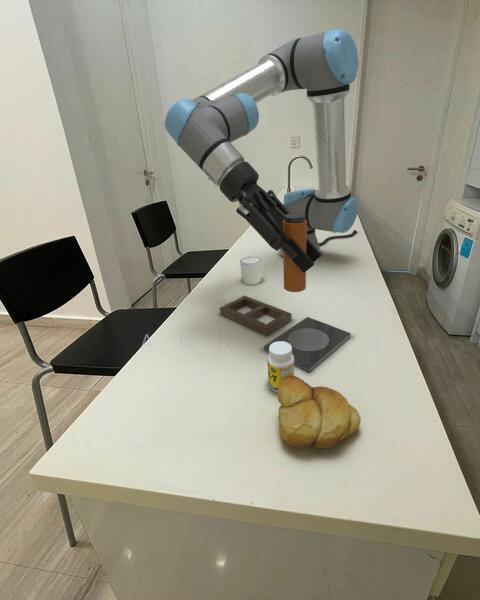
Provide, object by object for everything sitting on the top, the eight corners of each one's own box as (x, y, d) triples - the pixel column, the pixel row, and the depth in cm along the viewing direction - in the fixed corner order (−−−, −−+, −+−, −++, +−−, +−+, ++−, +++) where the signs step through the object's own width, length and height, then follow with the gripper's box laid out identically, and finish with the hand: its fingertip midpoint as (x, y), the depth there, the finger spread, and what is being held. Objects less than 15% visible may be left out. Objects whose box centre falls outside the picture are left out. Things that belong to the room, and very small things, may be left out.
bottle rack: (245, 301, 92) (244, 295, 91) (291, 320, 82) (291, 313, 81) (220, 314, 86) (219, 307, 85) (267, 336, 76) (267, 328, 75)
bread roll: (357, 411, 55) (361, 373, 51) (363, 463, 46) (368, 422, 43) (280, 405, 57) (279, 368, 53) (272, 454, 48) (270, 413, 44)
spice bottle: (293, 281, 72) (292, 211, 65) (310, 286, 69) (311, 214, 63) (279, 288, 69) (277, 216, 62) (296, 294, 66) (296, 219, 60)
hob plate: (307, 320, 82) (307, 316, 81) (350, 336, 74) (351, 332, 74) (263, 349, 71) (263, 345, 71) (309, 372, 64) (309, 368, 63)
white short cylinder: (260, 286, 101) (259, 264, 98) (238, 284, 102) (236, 263, 99) (265, 277, 107) (264, 256, 104) (244, 276, 108) (243, 255, 105)
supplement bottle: (264, 380, 62) (262, 343, 59) (287, 373, 64) (286, 337, 60) (274, 396, 58) (273, 358, 55) (298, 388, 60) (298, 351, 56)
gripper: (241, 182, 73) (311, 260, 75) (196, 196, 58) (285, 292, 60) (262, 155, 69) (336, 239, 70) (219, 163, 54) (314, 268, 56)
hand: (312, 263), depth 65 cm, fingers closed on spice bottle, 5 cm apart
